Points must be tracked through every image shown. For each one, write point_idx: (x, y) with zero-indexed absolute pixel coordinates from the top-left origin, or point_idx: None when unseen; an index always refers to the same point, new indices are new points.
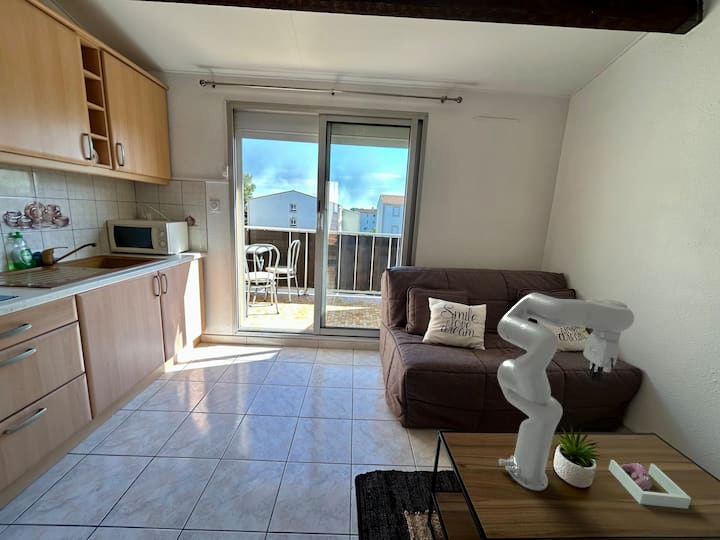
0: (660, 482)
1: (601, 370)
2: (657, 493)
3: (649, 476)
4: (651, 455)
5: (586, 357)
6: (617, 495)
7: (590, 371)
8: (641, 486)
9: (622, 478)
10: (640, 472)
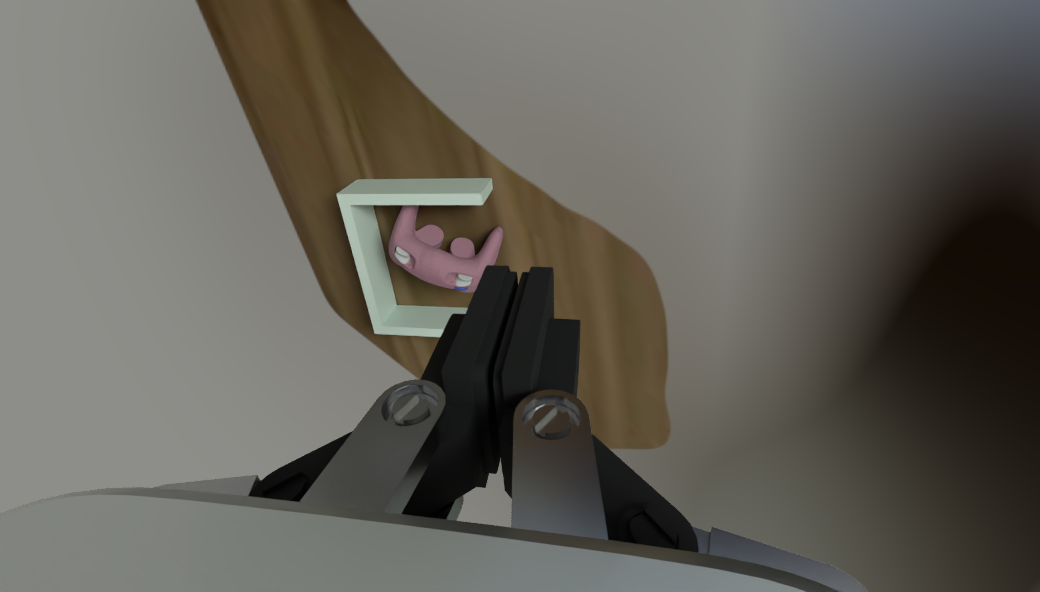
0: (459, 311)
1: (302, 468)
2: (357, 247)
3: (411, 273)
4: (589, 381)
5: (650, 564)
6: (367, 121)
7: (513, 338)
8: (394, 224)
9: (423, 185)
10: (420, 254)
